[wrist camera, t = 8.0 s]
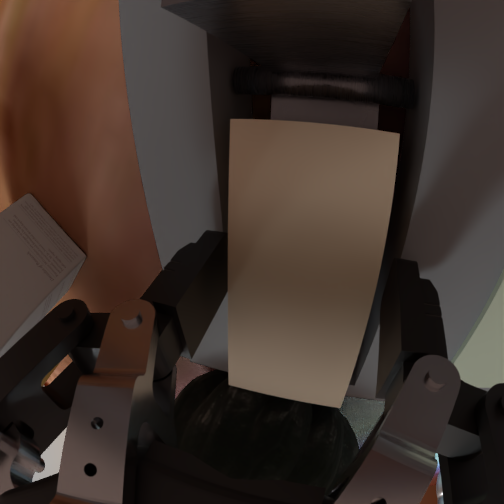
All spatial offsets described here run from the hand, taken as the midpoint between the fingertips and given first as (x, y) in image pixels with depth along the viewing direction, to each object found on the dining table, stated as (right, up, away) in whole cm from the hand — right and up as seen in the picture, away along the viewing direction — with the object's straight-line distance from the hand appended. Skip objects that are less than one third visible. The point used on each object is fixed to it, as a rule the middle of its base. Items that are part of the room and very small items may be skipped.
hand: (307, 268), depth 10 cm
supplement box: (-18, +1, +12) cm, 22 cm away
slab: (0, +1, +1) cm, 2 cm away
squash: (0, -11, +14) cm, 18 cm away
